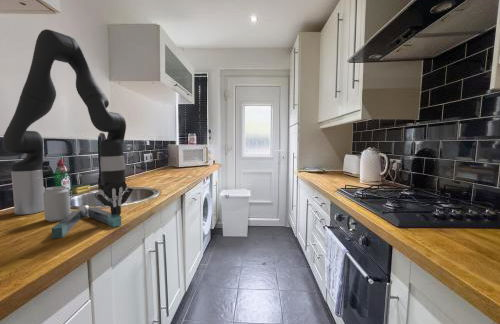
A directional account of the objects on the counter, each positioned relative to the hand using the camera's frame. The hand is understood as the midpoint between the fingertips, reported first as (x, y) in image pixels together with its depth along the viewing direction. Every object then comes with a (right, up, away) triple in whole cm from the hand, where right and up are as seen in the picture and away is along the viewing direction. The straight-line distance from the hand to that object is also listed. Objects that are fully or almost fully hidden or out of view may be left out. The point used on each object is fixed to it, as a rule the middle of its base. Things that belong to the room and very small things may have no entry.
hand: (116, 216), depth 86 cm
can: (-23, -2, +2) cm, 23 cm away
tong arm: (-4, -1, 0) cm, 4 cm away
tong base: (-12, -2, -5) cm, 13 cm away
